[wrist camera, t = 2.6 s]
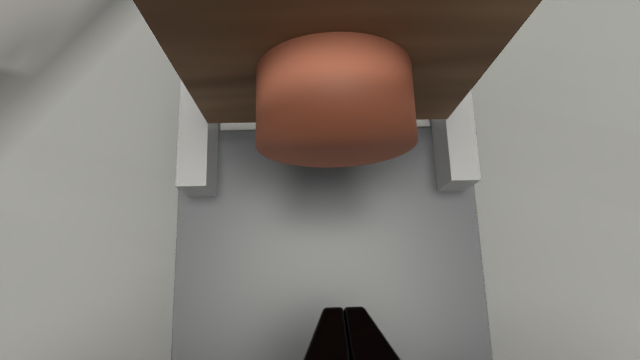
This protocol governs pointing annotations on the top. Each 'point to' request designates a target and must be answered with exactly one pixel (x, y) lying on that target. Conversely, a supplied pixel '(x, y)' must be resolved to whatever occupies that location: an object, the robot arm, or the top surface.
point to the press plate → (332, 67)
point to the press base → (326, 244)
